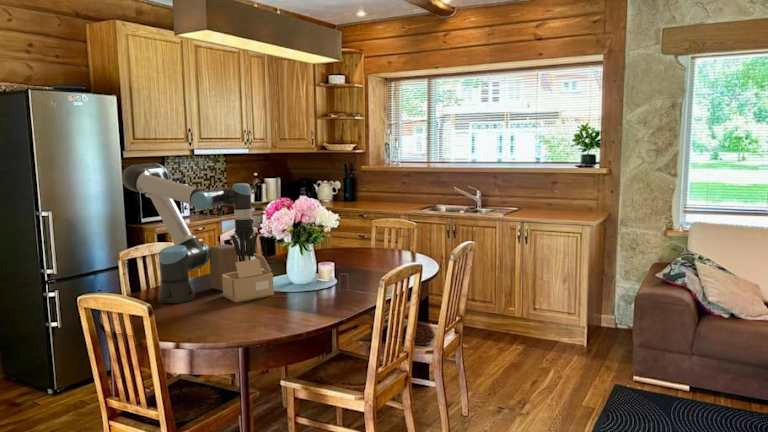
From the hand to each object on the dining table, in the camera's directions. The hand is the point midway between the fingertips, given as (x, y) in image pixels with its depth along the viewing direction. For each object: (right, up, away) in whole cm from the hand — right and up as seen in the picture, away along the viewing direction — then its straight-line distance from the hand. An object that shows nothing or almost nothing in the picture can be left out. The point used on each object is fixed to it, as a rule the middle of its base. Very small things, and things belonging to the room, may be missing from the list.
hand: (246, 270), depth 261 cm
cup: (-4, -7, +33) cm, 34 cm away
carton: (+1, -11, +1) cm, 11 cm away
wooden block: (-14, -10, +15) cm, 22 cm away
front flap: (+3, +1, -6) cm, 7 cm away
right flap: (+6, +3, +3) cm, 8 cm away
